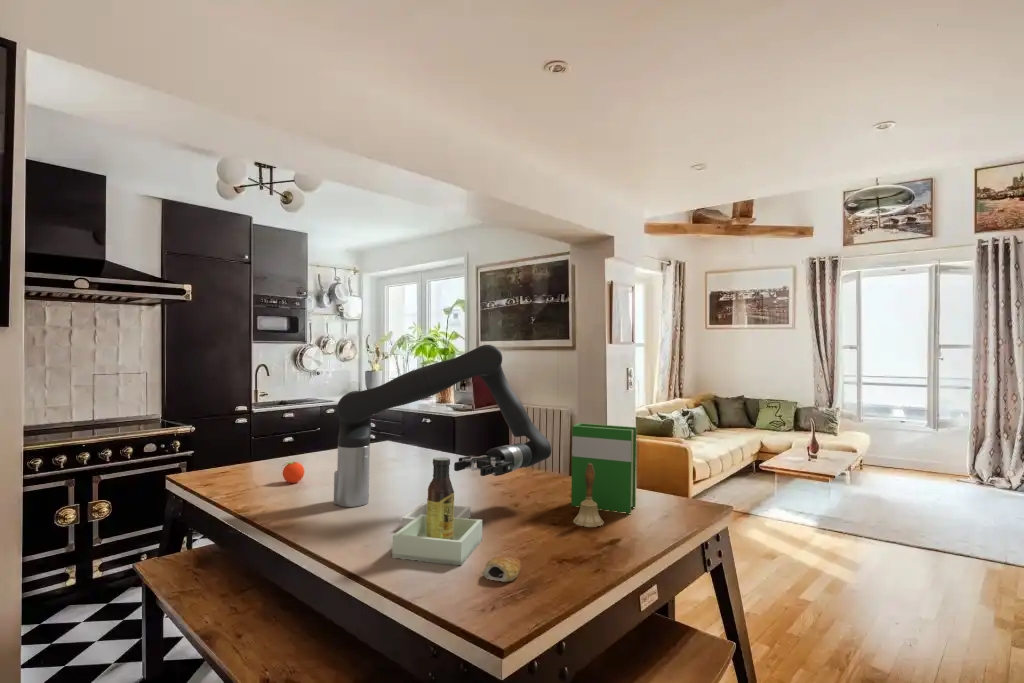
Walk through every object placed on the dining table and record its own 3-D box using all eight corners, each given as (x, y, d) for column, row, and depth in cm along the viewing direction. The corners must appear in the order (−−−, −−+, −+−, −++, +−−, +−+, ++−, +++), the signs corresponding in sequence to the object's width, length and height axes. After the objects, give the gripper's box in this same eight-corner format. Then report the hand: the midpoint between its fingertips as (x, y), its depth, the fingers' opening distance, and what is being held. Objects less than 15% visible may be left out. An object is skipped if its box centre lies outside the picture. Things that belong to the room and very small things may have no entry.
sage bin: (392, 558, 120) (392, 535, 120) (420, 534, 135) (420, 514, 135) (461, 565, 116) (461, 542, 116) (481, 540, 132) (482, 519, 132)
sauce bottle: (448, 550, 122) (449, 462, 122) (422, 548, 123) (423, 460, 124) (457, 540, 128) (458, 456, 129) (432, 538, 130) (433, 455, 130)
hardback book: (635, 507, 161) (636, 427, 162) (630, 514, 155) (631, 430, 155) (578, 500, 169) (579, 423, 169) (571, 506, 162) (572, 426, 162)
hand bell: (585, 516, 153) (586, 459, 153) (610, 523, 147) (611, 464, 147) (566, 522, 147) (567, 463, 147) (591, 530, 141) (592, 468, 141)
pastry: (500, 563, 118) (500, 546, 118) (528, 569, 116) (529, 551, 116) (480, 579, 110) (480, 561, 110) (510, 586, 107) (511, 567, 107)
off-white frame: (401, 529, 139) (401, 517, 139) (422, 513, 152) (422, 502, 152) (453, 534, 135) (453, 522, 136) (470, 517, 149) (470, 506, 149)
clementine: (278, 486, 180) (279, 464, 180) (279, 481, 186) (279, 460, 186) (304, 484, 183) (304, 463, 183) (304, 479, 189) (304, 459, 189)
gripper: (483, 443, 155) (447, 451, 142) (525, 449, 148) (491, 458, 134) (483, 469, 155) (446, 479, 142) (525, 476, 147) (490, 488, 134)
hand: (468, 469), depth 138 cm, fingers open, 8 cm apart
